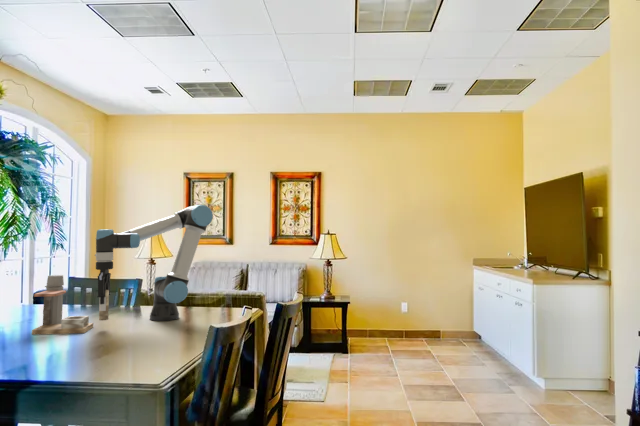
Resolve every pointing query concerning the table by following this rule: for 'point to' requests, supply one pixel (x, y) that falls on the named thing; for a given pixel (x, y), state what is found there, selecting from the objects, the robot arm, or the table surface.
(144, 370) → the table surface
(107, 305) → the peg
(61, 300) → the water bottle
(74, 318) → the socket station
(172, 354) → the table surface
